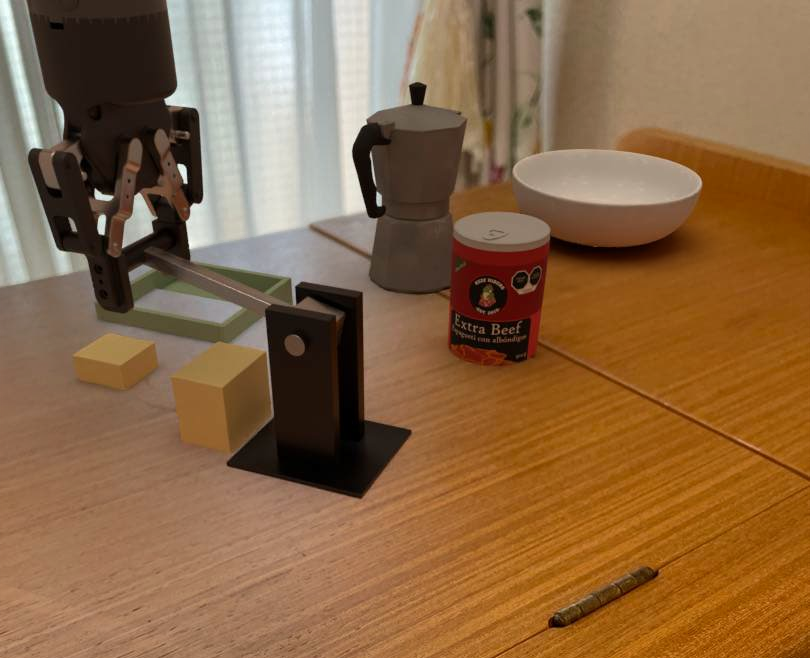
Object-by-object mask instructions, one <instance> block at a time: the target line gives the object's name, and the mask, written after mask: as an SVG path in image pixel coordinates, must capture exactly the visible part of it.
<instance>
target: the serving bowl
mask: <svg viewBox="0 0 810 658" xmlns="http://www.w3.org/2000/svg"><path fill="white" fill-rule="evenodd" d="M511 176H512V177H511V179H512V190H513V195H514V198H515V199H514V200H515V202H516V204H517V206H518V208H519V210H520V212H521V214H525V215H529V216H532V217H535V218H538V219H540V220H542V221H544V222H545V223H546V224H548V226H549V227H550V237H553V238H555V239H558V240H561V241H564V242H569V243H572V244H575V243H577V244H576V245H579V244H582V245H581V246H583V245H588V246H597V247H616V248H626V247H633V246H634V247H635V246H636V247H637V246H641V245H646V244H650V243H652V242H656V241H659V240H661V239H663V238H665V237H667V236H669V235H670V234H672V233H673V232H675V231H676V230H677V229H679V228H680V227H681V226H682V225H683V224H684V223H685V222H686V221H687V220H688V218H689V217H690V216H691V214H692V212H693V211H694V209H695V208H696V205H697V203H698V200H699V198H700V195H701V192H702V188H703V180H702V179H701V177H700V175H698V173H697V172H695V171H694V170H692V169H690V167H687V166H685V165H683V164H680V163H678V162H675V161H672V160H669V159H666V158H662V157H657V156H653V155H648V154H644V153H637V152H631V151H623V150H612V149H596V148H595V149H594V148H593V149H591V148H578V149H577V148H576V149H575V148H574V149H573V148H572V149H559V150H550V151H545V152H539V153H536V154H532V155H529V156H527V157H524V158H522V159H520V160H519V161H517V162H516V163H515V164H514V166H513V168H512V170H511ZM588 246H587V247H588ZM597 247H596V248H597Z"/></svg>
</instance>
